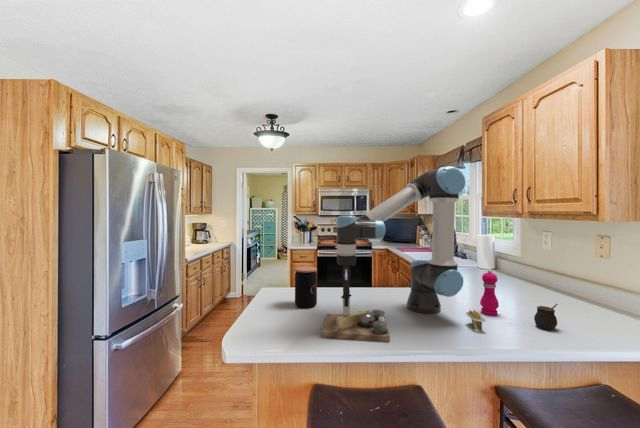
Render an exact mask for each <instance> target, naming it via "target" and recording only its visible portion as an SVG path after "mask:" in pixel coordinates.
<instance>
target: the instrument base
mask: <svg viewBox="0 0 640 428" xmlns="http://www.w3.org/2000/svg"><path fill="white" fill-rule="evenodd" d="M371 312H373V313H375V322H374V323H373V327H361V326H359V325H357V323H353V324H349V325H345V326H340V327H339V326H337V317H338V316H343V315H344V314H343V313H342V314H339V313H338V314H337V313H327V314H326V318H325V320H324V323H323V327H322V331H321V339H322V338H323V339H334V340H335V339H338V340H350V341H352V340H353V341H369V342H384V343H385V342H386V343H390V342H391V336H390V332H389V328H388V322H386V318H385V311H383V310H381V309H380V310H379V309H374V310H371Z"/></svg>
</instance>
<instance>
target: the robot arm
mask: <svg viewBox="0 0 640 428" xmlns="http://www.w3.org/2000/svg"><path fill="white" fill-rule="evenodd" d="M465 187H466V178H465V175H464V173H463V172H462V171H461V170H460V169H459V168H457V167H456V166H451V165H450V166H442V167H440V168H436V169H435V168H434V169H430V170H427V171H425V172H423V173H421V174H420V175H419V176H417V177H416V178H414V179H412V180H411V181H410V182H409V183H407V184H406V186H405V187H404V188H403V189H401V190H400V191H398V192H397V193H395V194H394V195H392V196H391V197H389V198H387V199H386V200H384V201H383V202H381V203H380V204H378V205H377V206H375V207H373V209H371V210H369V211H367V212H365V213H364V214H363V215H362V216H360V217H358V218H356V216H355V215H339V216H337V219H336V245H335V249H336V254H337V255H336V264H337V265H338V266H343V267H342V268H341V270H340V272H341V281H342V295H341V299H342V314H343V315H348V314H351V309H350V308H351V305H350V304H351V299H350V298H351V297H352V294H351V293H350V283H351V279H352V278H351V277H352V268H350V267H351V266H355V265H356V262H357V256H356V254H357V240H380V239H383V238H384V237H385V235H386V225H385V221H387V220H389V219H390V218H391V217H393V216H395V215H396V214H398V213H400V212H401V211H402V210H404V209H405V208H407V207H408V206H410V205H412V204H413V203H415V202H420V201H421V200H423V199H425V198H428V199H429V200H430V202H432V229H431V230H432V231H431V233H432V234H431V236H432V237H431V238H432V239H431V259H414V260H413V259H412V261H411V263H410V292H409V295H408V298H407V300H406V308H407V309H409V310H410V311H413V312H416V313H421V314H437V313H440V312H441V311H442V310H441V309H442V307H441V305H442V304H441V302H440V298H439V296H443V297H447V298H451V297H454V296H456V295H457V294H458V293H459V292H460V291H461V290H462V289H463V287H464V277H463V275H462V274H461V272H460V271H459V270H458V263H457V262H456V260H455V259H454V258H455V251H454V250H455V215H456V214H455V213H456V212H455V211H456V209H455V208H456V207H455V206H456V205H455V203H456V202H457V201H459V199H460V198H459V197H460V193H461V192H462V191H463V190H464V189H465Z"/></svg>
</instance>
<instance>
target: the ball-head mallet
mask: <svg viewBox="0 0 640 428" xmlns="http://www.w3.org/2000/svg"><path fill="white" fill-rule="evenodd" d="M374 322H375V313H373V312H372V311H371V310H360V311H357V312H354V313H353V312H352V313H350V314H343V316H338V317H337V326H339V327H340V326H345V325H349V324H353V323H357V325H359V326H361V327H373V323H374Z"/></svg>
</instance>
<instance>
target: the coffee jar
mask: <svg viewBox="0 0 640 428" xmlns="http://www.w3.org/2000/svg"><path fill="white" fill-rule="evenodd" d="M294 271H295V273H294V304H295V306H296V307H297V308H299V309H305V310H307V309H313V308H315V307H316V305H317V304H318V302H317V301H318V273H317V271H318V268H317V267H315V266H309V265H308V266H307V265H306V266H305V265H304V266H298V267H295V269H294Z"/></svg>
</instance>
